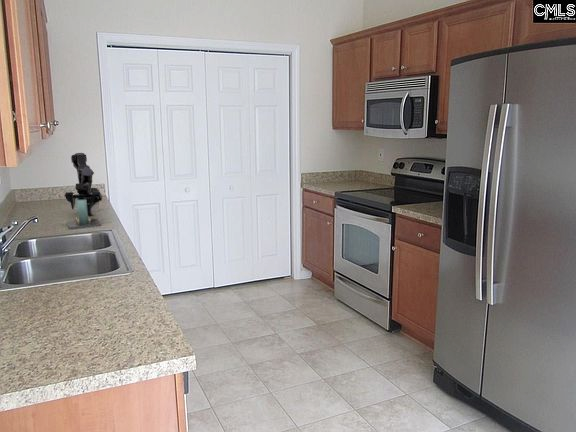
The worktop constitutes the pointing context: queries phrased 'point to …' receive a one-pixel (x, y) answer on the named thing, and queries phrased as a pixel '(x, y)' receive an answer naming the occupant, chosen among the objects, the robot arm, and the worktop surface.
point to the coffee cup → (96, 206)
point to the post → (82, 211)
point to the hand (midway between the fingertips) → (81, 208)
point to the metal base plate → (77, 224)
